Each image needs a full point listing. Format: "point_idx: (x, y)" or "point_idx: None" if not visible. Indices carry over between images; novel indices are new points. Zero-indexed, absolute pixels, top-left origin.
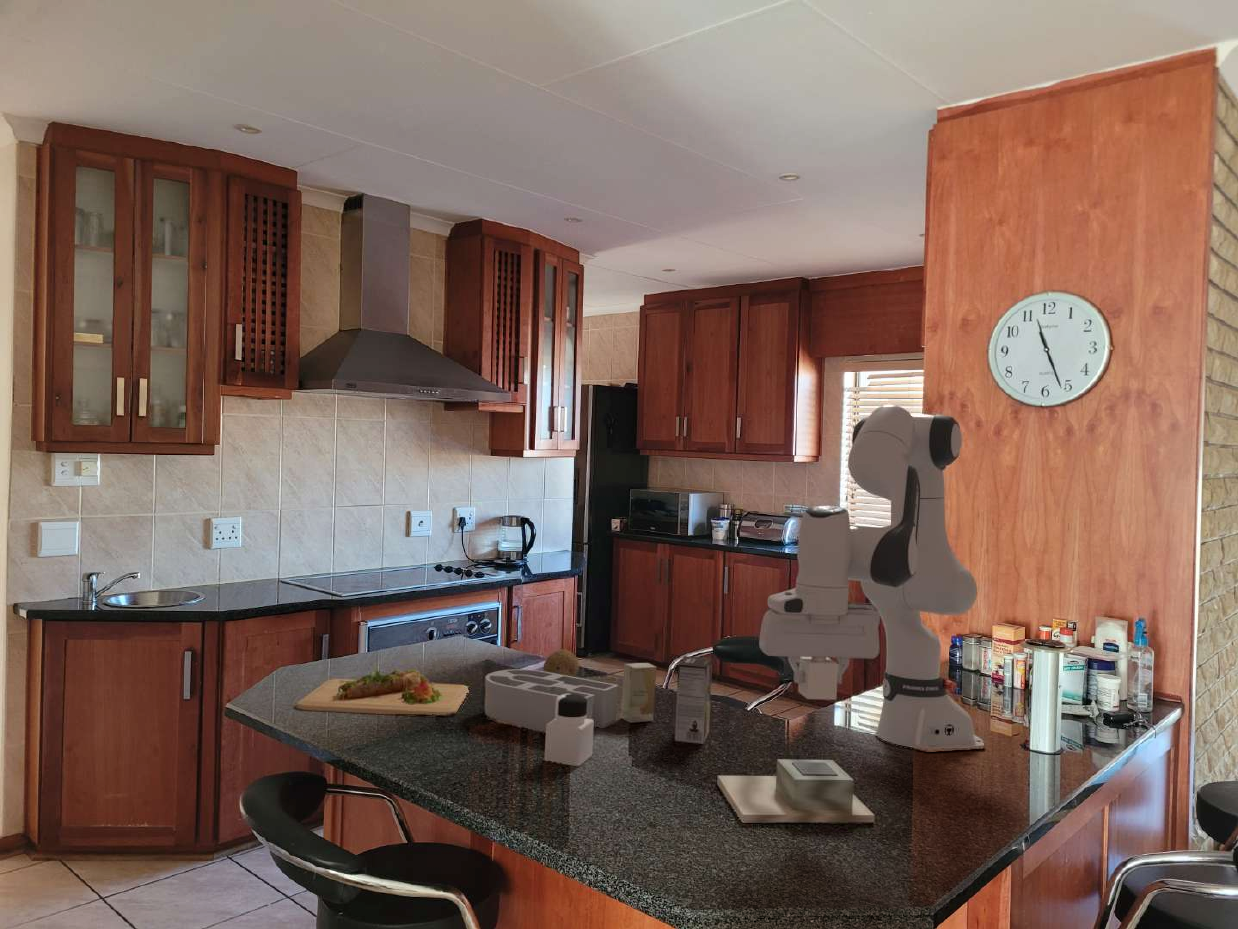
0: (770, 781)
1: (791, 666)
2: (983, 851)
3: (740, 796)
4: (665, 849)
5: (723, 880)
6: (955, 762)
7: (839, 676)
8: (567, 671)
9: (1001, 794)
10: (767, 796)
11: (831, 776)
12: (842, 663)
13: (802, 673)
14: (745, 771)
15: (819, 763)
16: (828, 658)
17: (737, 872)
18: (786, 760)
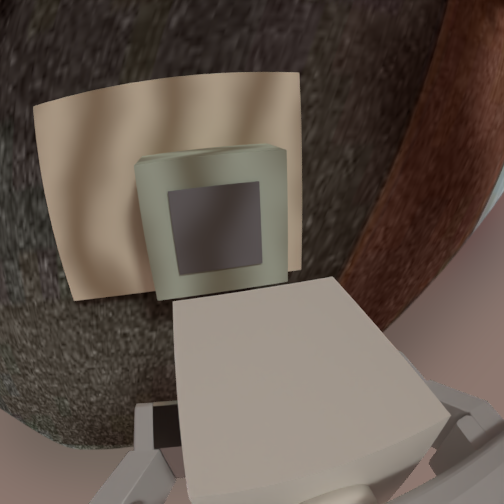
0: (138, 116)
1: (115, 479)
2: (388, 316)
3: (67, 220)
4: (10, 365)
5: (79, 416)
6: (490, 19)
7: None
8: None
9: (495, 136)
10: (117, 209)
11: (245, 270)
12: (432, 462)
13: (185, 476)
14: (113, 14)
15: (241, 190)
16: (429, 442)
17: (88, 405)
18: (157, 171)
